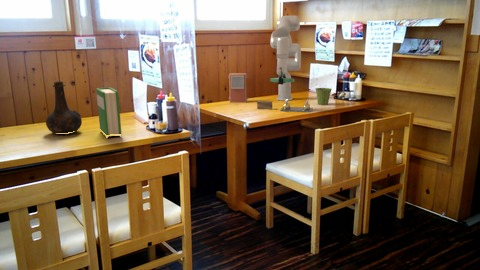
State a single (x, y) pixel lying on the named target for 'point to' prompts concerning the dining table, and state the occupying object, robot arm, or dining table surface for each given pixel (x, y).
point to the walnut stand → (264, 105)
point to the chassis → (296, 109)
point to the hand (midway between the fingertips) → (282, 83)
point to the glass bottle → (62, 114)
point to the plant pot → (323, 95)
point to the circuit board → (283, 80)
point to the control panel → (238, 87)
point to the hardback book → (108, 110)
